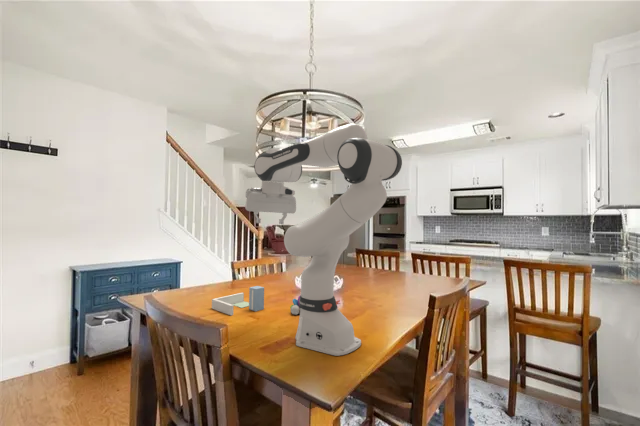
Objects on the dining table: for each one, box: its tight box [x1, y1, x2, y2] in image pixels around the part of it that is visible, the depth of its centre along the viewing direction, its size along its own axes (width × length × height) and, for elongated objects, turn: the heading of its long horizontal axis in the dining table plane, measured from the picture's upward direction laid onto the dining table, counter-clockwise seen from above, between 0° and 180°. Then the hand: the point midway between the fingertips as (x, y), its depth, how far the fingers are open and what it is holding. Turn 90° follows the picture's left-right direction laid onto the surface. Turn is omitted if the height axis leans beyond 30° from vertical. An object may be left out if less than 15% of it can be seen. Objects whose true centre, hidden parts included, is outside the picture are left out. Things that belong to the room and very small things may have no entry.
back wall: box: [211, 292, 245, 310], centre depth 145 cm, size 1×16×4 cm, turn 140°
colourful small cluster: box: [289, 295, 300, 316], centre depth 135 cm, size 8×10×7 cm
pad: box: [232, 300, 249, 309], centre depth 145 cm, size 7×7×1 cm
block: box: [248, 285, 265, 312], centre depth 139 cm, size 4×5×10 cm
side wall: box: [213, 298, 235, 316], centre depth 135 cm, size 13×1×4 cm, turn 50°
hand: (269, 223), depth 129 cm, fingers open, 8 cm apart
